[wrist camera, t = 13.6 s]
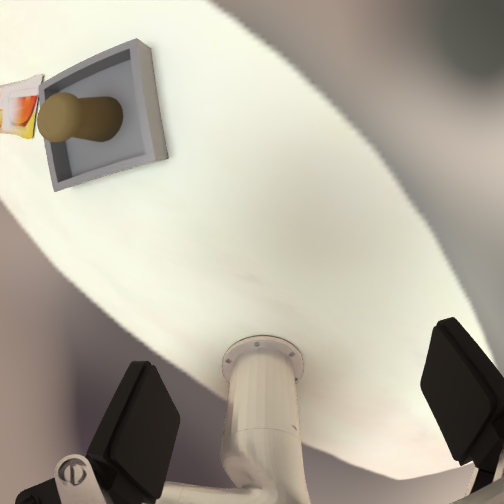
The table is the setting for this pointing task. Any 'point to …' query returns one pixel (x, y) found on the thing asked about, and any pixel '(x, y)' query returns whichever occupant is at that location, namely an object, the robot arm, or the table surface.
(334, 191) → the table surface
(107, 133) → the cork
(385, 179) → the table surface
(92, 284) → the table surface
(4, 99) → the food package
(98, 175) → the tote
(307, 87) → the table surface
